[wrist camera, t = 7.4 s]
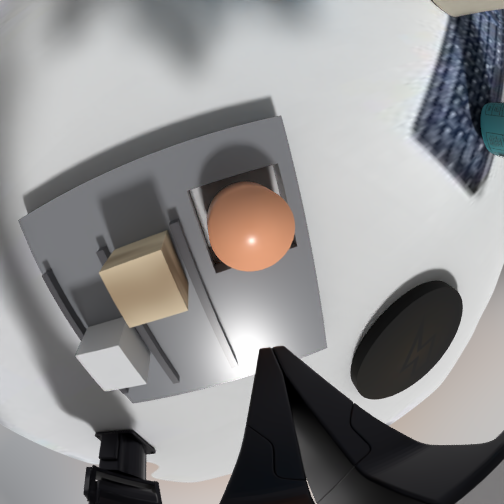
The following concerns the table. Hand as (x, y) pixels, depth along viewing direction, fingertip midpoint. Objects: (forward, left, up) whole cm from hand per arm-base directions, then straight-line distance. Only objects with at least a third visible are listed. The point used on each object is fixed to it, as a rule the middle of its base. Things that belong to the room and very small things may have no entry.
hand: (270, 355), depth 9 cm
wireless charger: (-21, -17, -13) cm, 30 cm away
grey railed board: (-3, +5, -12) cm, 13 cm away
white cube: (-5, +11, -10) cm, 16 cm away
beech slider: (0, +6, -10) cm, 12 cm away
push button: (+1, -1, -11) cm, 11 cm away
